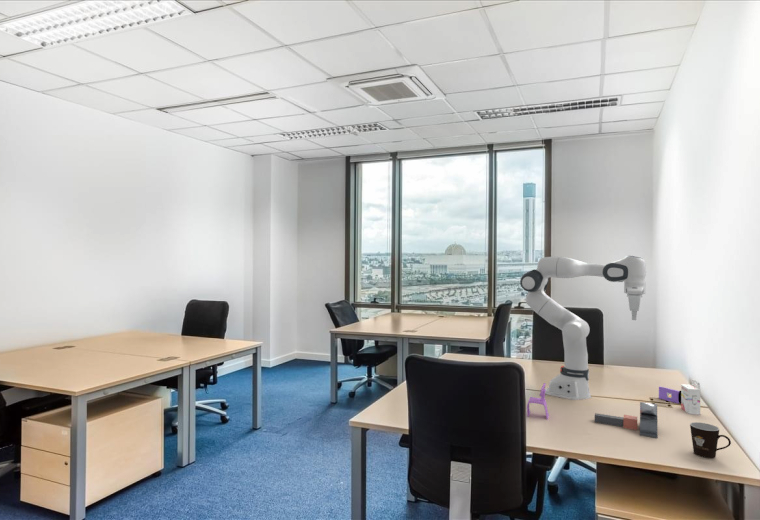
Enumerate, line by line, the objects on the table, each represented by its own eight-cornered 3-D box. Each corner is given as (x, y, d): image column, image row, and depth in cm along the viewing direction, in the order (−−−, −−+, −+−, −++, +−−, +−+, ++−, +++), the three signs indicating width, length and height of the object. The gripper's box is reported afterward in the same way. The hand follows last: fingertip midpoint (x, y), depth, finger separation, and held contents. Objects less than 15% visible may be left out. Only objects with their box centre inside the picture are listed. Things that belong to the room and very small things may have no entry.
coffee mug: (684, 449, 168) (684, 422, 168) (706, 449, 169) (706, 422, 169) (709, 463, 156) (709, 434, 156) (733, 462, 157) (733, 433, 157)
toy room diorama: (680, 406, 221) (680, 392, 221) (655, 399, 231) (656, 386, 231) (694, 403, 226) (695, 389, 226) (670, 396, 237) (670, 383, 237)
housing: (639, 435, 182) (640, 407, 182) (640, 422, 197) (640, 397, 197) (657, 438, 179) (657, 410, 179) (656, 425, 194) (656, 399, 194)
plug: (594, 423, 196) (594, 413, 196) (595, 420, 200) (595, 410, 200) (637, 430, 188) (637, 419, 188) (637, 426, 192) (637, 416, 192)
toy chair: (529, 412, 210) (529, 379, 210) (549, 415, 206) (549, 381, 206) (526, 417, 202) (526, 383, 202) (547, 420, 198) (547, 386, 198)
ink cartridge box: (680, 408, 216) (680, 377, 216) (692, 409, 215) (692, 378, 215) (688, 414, 208) (688, 382, 208) (701, 415, 207) (701, 382, 207)
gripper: (627, 288, 228) (626, 316, 228) (626, 290, 210) (626, 320, 210) (642, 289, 225) (641, 317, 225) (642, 291, 207) (641, 321, 207)
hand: (634, 319), depth 217 cm, fingers open, 8 cm apart
